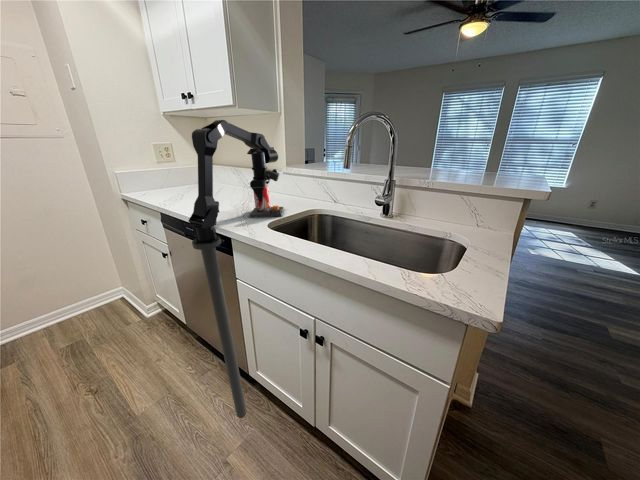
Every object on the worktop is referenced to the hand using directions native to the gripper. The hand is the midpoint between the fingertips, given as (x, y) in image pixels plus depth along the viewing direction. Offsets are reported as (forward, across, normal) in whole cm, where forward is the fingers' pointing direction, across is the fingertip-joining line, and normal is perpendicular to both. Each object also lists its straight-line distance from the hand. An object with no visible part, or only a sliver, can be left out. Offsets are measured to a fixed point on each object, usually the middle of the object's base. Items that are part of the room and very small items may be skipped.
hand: (262, 199), depth 121 cm
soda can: (+5, 0, 0) cm, 5 cm away
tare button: (+4, -6, -6) cm, 9 cm away
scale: (+6, -2, -2) cm, 7 cm away
